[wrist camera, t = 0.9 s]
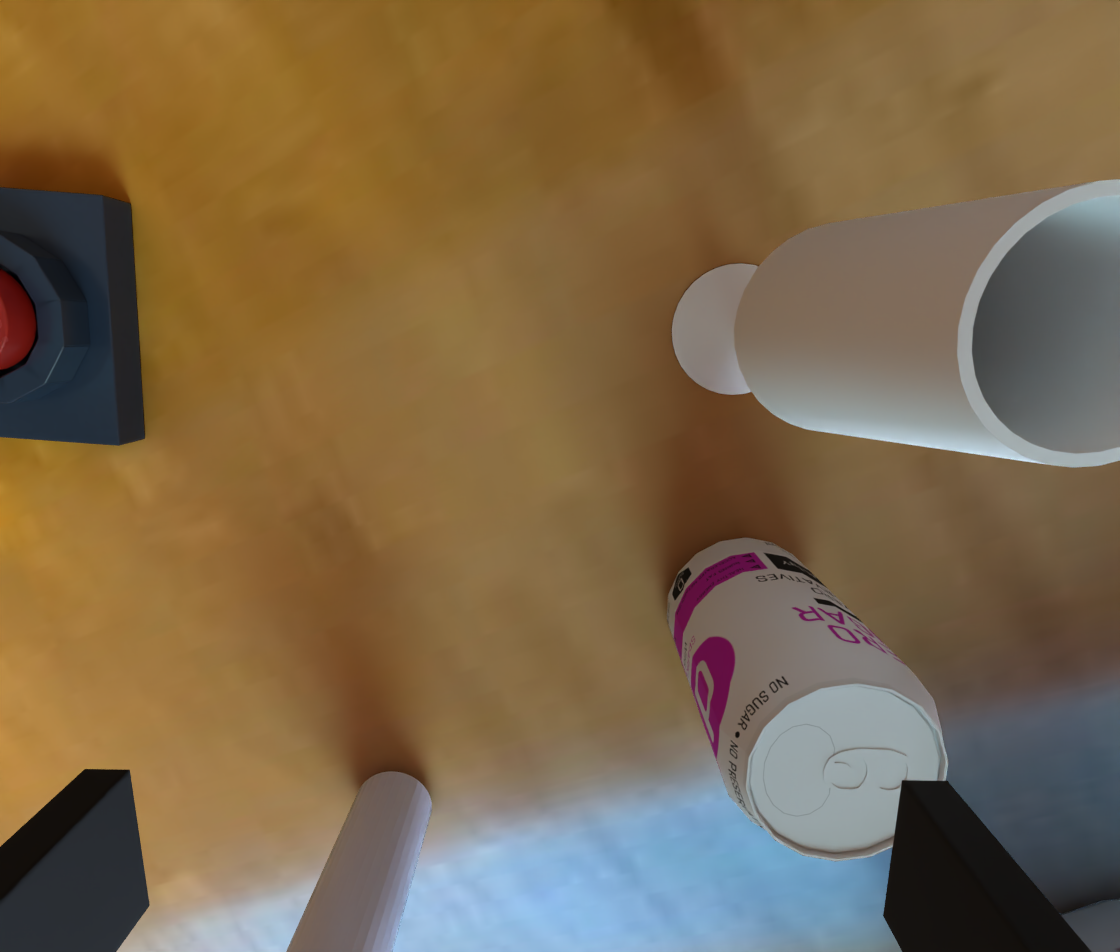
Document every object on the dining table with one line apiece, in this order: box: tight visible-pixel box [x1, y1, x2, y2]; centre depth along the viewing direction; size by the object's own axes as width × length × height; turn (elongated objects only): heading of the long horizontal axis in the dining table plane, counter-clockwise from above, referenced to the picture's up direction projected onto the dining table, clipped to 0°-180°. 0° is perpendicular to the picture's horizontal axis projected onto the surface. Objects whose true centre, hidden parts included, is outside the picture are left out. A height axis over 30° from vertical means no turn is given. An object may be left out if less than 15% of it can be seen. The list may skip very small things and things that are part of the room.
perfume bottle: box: [286, 771, 432, 952], centre depth 31 cm, size 6×6×20 cm
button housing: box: [0, 187, 145, 446], centre depth 33 cm, size 12×10×4 cm
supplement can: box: [667, 538, 948, 861], centre depth 30 cm, size 8×8×15 cm
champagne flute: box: [672, 179, 1120, 468], centre depth 23 cm, size 7×7×24 cm
